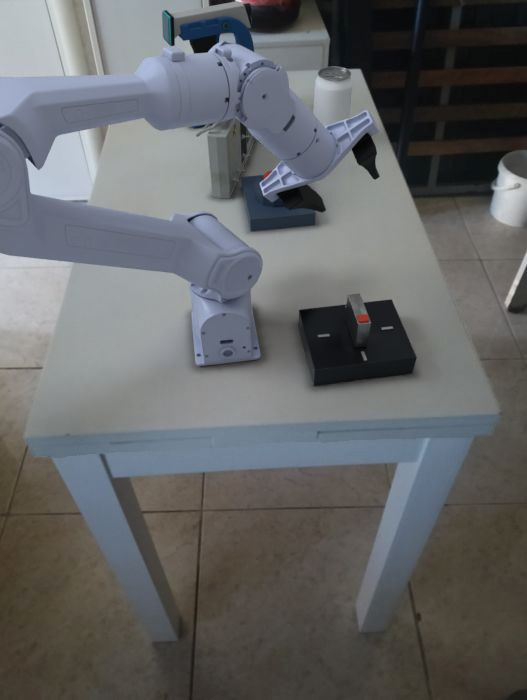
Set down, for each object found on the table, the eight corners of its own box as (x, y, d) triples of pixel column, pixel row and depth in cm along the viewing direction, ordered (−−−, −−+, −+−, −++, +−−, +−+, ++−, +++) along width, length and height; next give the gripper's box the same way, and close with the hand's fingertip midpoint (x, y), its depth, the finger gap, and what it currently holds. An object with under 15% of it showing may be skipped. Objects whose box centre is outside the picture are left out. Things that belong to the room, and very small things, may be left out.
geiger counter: (231, 117, 82) (265, 50, 99) (189, 113, 83) (230, 47, 100) (236, 200, 93) (266, 127, 109) (198, 196, 94) (234, 124, 110)
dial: (344, 318, 70) (347, 292, 67) (356, 317, 70) (360, 291, 67) (354, 348, 67) (358, 322, 64) (367, 346, 67) (371, 321, 64)
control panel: (388, 315, 75) (392, 298, 72) (412, 374, 68) (417, 356, 66) (298, 326, 74) (298, 308, 71) (313, 386, 67) (314, 369, 65)
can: (345, 149, 103) (352, 82, 94) (310, 147, 104) (313, 80, 95) (348, 132, 107) (354, 66, 98) (313, 130, 108) (317, 64, 99)
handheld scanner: (173, 121, 111) (158, 10, 96) (248, 104, 116) (245, -5, 101) (180, 131, 109) (167, 19, 94) (257, 114, 113) (256, 3, 98)
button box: (314, 225, 88) (316, 203, 85) (250, 231, 87) (249, 209, 84) (300, 183, 96) (301, 161, 93) (241, 188, 95) (240, 167, 92)
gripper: (340, 64, 58) (388, 131, 70) (230, 145, 65) (291, 195, 76) (362, 114, 56) (409, 175, 67) (246, 194, 62) (306, 238, 73)
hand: (347, 189), depth 71 cm, fingers open, 7 cm apart
